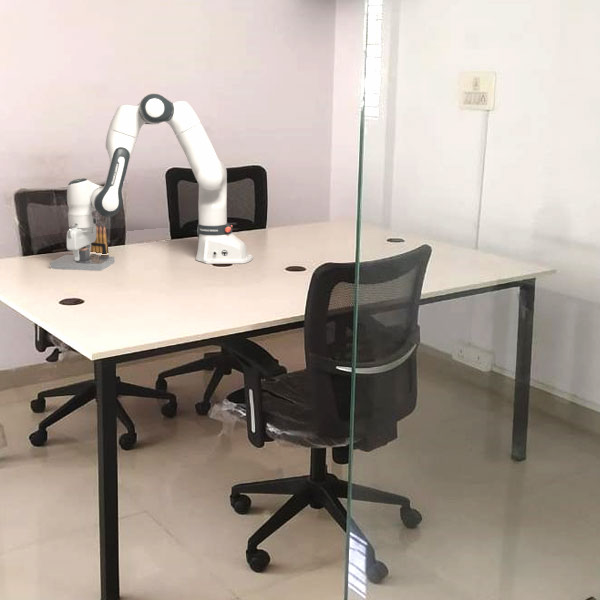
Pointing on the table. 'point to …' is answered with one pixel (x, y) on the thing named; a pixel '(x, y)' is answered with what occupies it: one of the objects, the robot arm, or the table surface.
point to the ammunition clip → (100, 242)
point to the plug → (84, 254)
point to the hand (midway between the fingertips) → (82, 257)
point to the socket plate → (82, 263)
